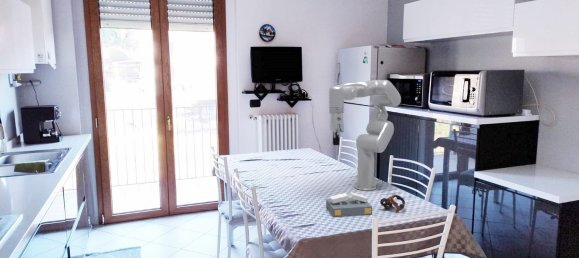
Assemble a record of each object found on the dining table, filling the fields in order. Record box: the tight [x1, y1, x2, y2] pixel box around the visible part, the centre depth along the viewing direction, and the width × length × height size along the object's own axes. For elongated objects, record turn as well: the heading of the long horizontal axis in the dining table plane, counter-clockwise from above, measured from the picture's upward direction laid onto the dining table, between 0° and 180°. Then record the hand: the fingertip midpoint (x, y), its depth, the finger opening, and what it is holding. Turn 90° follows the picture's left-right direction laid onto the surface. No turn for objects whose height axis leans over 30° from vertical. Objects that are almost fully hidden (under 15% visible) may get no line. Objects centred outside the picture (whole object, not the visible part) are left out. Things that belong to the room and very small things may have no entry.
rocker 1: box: [329, 192, 349, 203], centre depth 190 cm, size 8×4×2 cm, turn 98°
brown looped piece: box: [379, 194, 406, 213], centre depth 192 cm, size 12×10×8 cm
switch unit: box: [325, 197, 373, 218], centre depth 191 cm, size 19×14×5 cm
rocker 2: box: [348, 191, 368, 203], centre depth 191 cm, size 8×4×2 cm, turn 99°
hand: (336, 144), depth 207 cm, fingers closed
